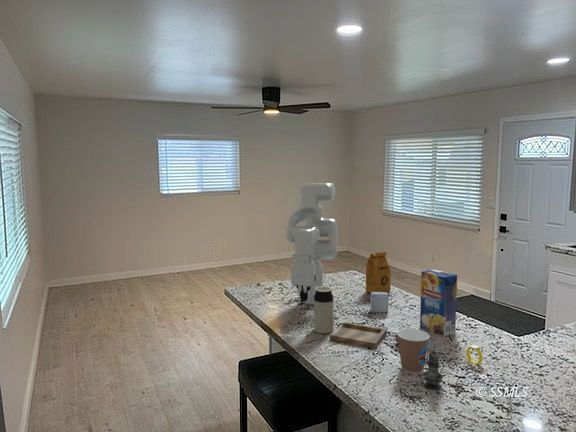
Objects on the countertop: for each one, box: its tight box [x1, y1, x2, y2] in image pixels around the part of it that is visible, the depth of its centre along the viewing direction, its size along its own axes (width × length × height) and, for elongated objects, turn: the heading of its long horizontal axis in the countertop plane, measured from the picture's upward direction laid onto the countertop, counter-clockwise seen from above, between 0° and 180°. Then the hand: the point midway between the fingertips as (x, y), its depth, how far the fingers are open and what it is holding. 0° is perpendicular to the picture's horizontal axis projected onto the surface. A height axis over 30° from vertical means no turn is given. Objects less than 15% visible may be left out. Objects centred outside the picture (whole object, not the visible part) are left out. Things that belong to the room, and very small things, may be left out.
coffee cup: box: [396, 328, 430, 374], centre depth 142 cm, size 10×10×12 cm
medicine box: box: [370, 292, 389, 313], centre depth 200 cm, size 8×4×9 cm, turn 84°
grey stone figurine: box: [422, 348, 444, 392], centre depth 131 cm, size 6×6×12 cm
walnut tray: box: [329, 321, 388, 350], centre depth 170 cm, size 18×16×2 cm
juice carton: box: [419, 268, 458, 337], centre depth 176 cm, size 12×8×24 cm, turn 31°
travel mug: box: [313, 285, 334, 335], centre depth 176 cm, size 8×8×18 cm
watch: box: [465, 344, 483, 366], centre depth 147 cm, size 6×3×6 cm, turn 23°
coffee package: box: [365, 251, 392, 294], centre depth 230 cm, size 10×12×22 cm
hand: (303, 300), depth 180 cm, fingers closed
